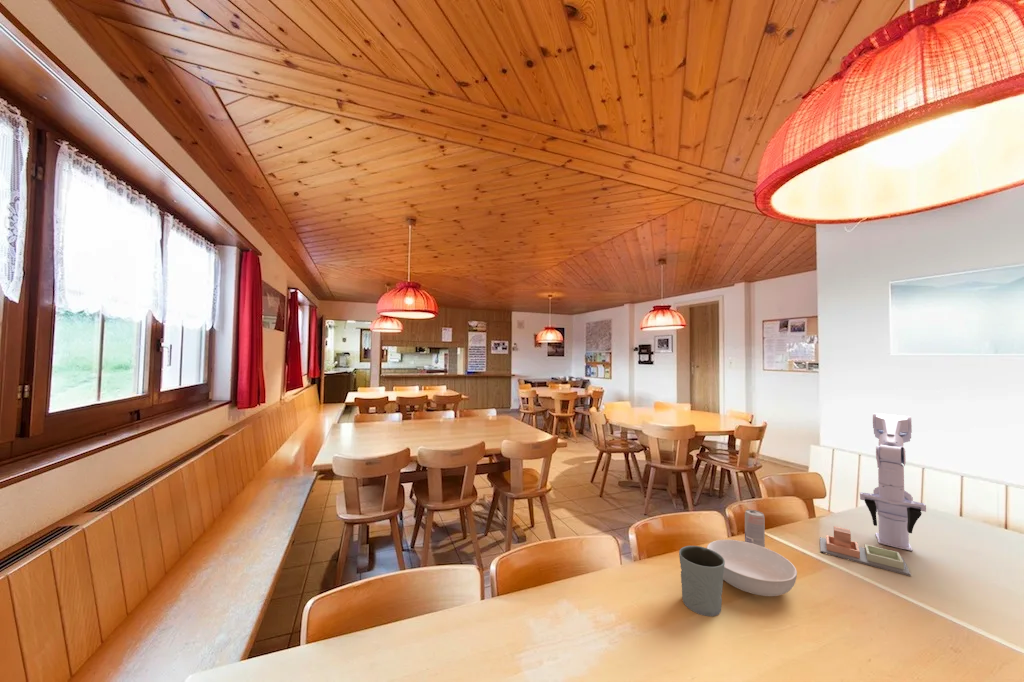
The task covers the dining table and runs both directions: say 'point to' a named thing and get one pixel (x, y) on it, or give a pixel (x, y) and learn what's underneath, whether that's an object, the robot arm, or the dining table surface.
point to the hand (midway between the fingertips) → (892, 528)
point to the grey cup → (702, 579)
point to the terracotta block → (842, 537)
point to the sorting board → (866, 555)
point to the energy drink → (755, 527)
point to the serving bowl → (755, 568)
